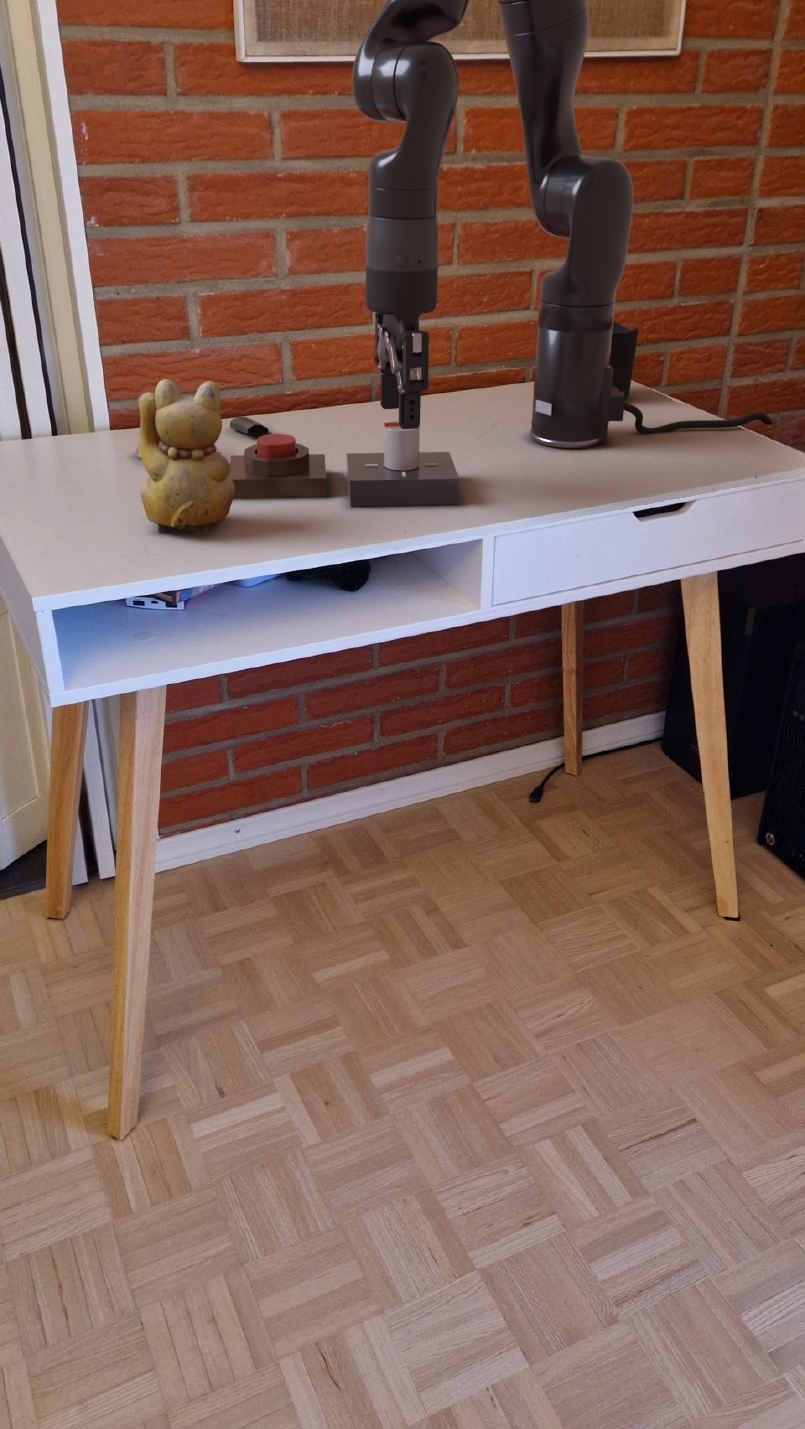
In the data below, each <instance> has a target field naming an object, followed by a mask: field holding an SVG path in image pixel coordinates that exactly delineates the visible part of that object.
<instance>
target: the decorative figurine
mask: <svg viewBox="0 0 805 1429" xmlns="http://www.w3.org/2000/svg"><path fill="white" fill-rule="evenodd" d="M195 392H196V393H195V394H194V395H182V393H181V391H180V388H179V386H178V384H177V383H175V382H174V381H172V380H170V379H168V378H164V379H161V380H160V381H159V382H157V385H156V387H155V392H149V391H147V392H144V393H142V394H141V395H140V396H139V397H138V407H139V416H140V424H139V435H138V436H139V437H138V438H139V439H138V444H139V446H140V454H141V457H140V459H141V462H142V464H143V468H144V469H145V471H146V472H147V474H148V475H146V476H145V477H144V479H143V481H142V483H141V486H140V498H141V502H142V505H143V509H144V512H145V517H146V518H147V520H148V521H150V522H151V523H154V524H156V525H157V533H158V534H166V533H167V534H170V533H171V534H201V535H203V534H204V535H205V534H206V532H207V531H208V528H209V527H210V526H211V525H213V523H217V522H219V521H221V520H223V519H225V518H227V516H228V515H229V514H230V511H231V506H232V504H233V502H234V499H235V498H234V491H235V489H234V483H233V481H232V479H231V478H230V477H229V476H228V474H229V472H230V468H231V467H230V461H229V460H228V459H227V457H225V456H224V455H223V454H222V453H220V452H218V451H217V446H216V445H215V444H216V443H217V442H218V440H219V437H221V433H222V429H223V421H222V416H221V413H220V409H221V408H220V407H221V390H220V386H219V385H218V384H217V383H216V382H215V381H211V380H208V381H205V382H203V383H202V384H201V385H200V386H199V387H198V388H197V390H196V391H195Z"/></svg>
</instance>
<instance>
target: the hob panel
mask: <svg viewBox="0 0 805 1429" xmlns="http://www.w3.org/2000/svg"><path fill="white" fill-rule="evenodd" d="M460 480H461V479H460V476H459V473H458V471H457V469H456V466H455V463H454V461H453V458H452V454H451V453H450V451H423V452H422V451H419V467H418V468H416V469H412V470H405V471H399V470H391V469H388V468H386V467H385V466H384V452H355V453H354V452H353V453H351V452H349V453H348V452H347V453H346V481H347V491H348V497H349V498H348V500H349V506H350V508H365V507H366V508H367V507H369V508H370V507H411V506H412V507H419V506H420V507H423V506H426V507H427V506H459V505H460V484H461V483H460Z"/></svg>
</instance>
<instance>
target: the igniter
mask: <svg viewBox="0 0 805 1429" xmlns="http://www.w3.org/2000/svg"><path fill="white" fill-rule="evenodd" d="M229 458H230V459H229V464H230V467H231V468H230V472H229V474H228V476H229V477H230V478H231V479H232V481H233V483H234V489H235V491H234V498H233V499H277V498H279V499H280V498H327V496H328V488H327V486H328V485H327V469H326V467H327V466H326V454H323V453H313V454H312V453H311V454H310V448H309V447H307V446H305V445H303V444H301V443H297V442H296V454H295V455H293V456H288V457H283V458H269V457H263V456H259V455H257V443H255V444H252V445H250V446H249V447H247V448H244V451H243V455H242V454H241V455H239V454H238V455H230V457H229Z"/></svg>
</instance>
